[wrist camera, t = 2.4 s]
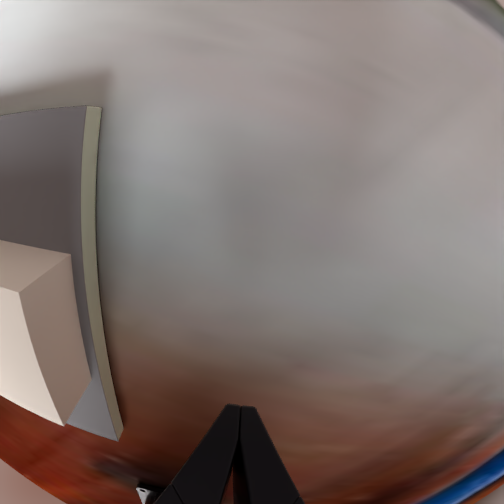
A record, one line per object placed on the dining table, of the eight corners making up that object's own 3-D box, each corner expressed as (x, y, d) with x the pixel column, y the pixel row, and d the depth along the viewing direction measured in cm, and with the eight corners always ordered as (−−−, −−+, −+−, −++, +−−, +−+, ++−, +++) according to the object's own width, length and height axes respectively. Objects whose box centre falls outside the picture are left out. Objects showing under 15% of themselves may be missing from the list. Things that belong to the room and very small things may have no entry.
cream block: (91, 379, 11) (63, 426, 9) (1, 343, 11) (-30, 376, 8) (70, 254, 9) (18, 293, 6) (-25, 234, 9) (-70, 258, 6)
